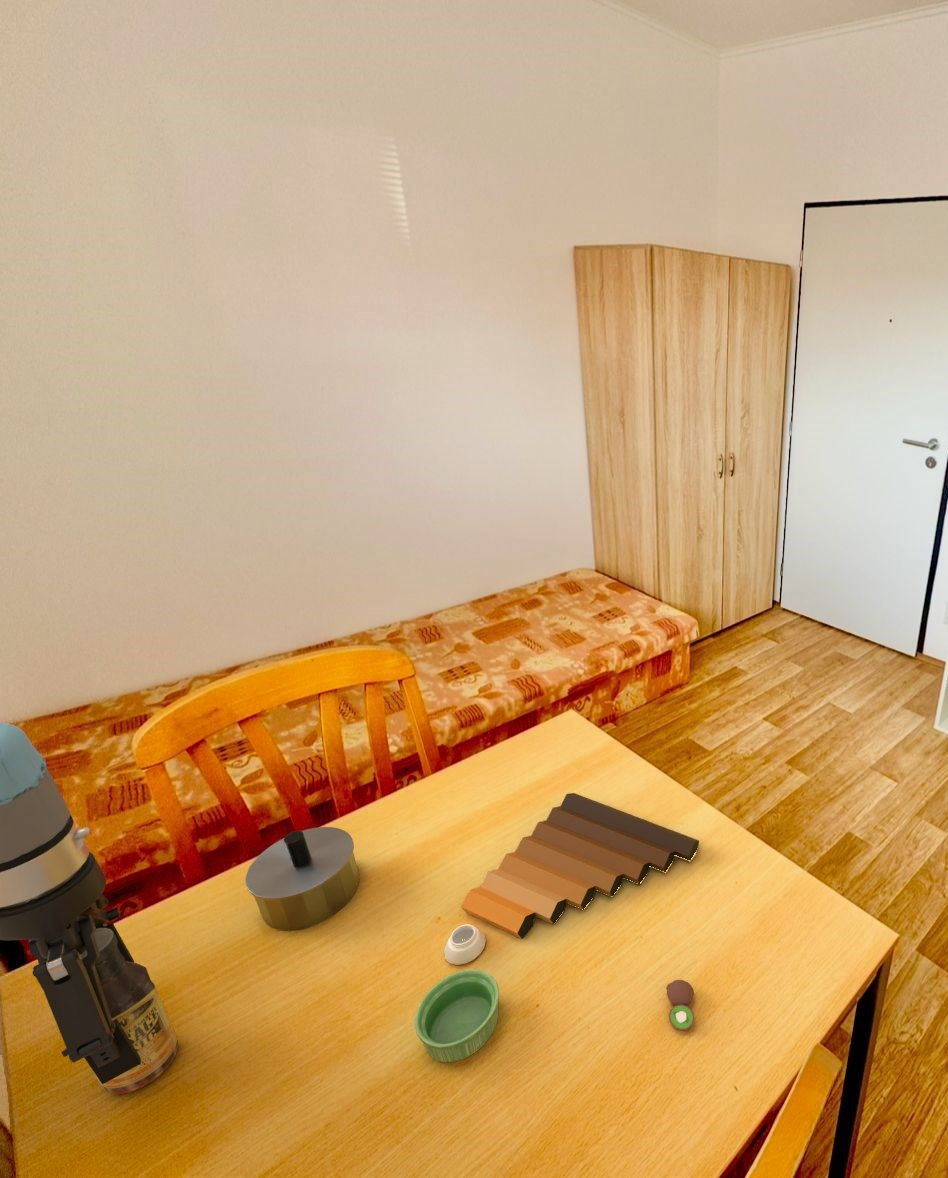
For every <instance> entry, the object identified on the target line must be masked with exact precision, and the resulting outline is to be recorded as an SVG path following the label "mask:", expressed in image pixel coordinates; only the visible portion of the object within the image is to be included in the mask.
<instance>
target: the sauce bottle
mask: <svg viewBox="0 0 948 1178" xmlns="http://www.w3.org/2000/svg"><path fill="white" fill-rule="evenodd" d="M94 937H95V940H96V943H97V947H98V950H99V953H100V957H99V959H98V960H97V961H96V962H95V967H96V970H97V974H98V977H99V980H100V983H101V986H102V989H103V993H104V996H105V999H106V1002H107V1005H108V1009H109V1012H110V1015H111V1018H112V1021H113V1020H115V1019H117V1020H118V1022H119V1023H120V1025H121V1027H122V1028H123V1030H124V1031H125V1033H126V1035H127V1036H128V1038H129V1040H130V1041H131V1043H132V1044H133V1046H134V1048H135V1049H136V1051H137V1053H138V1054H139V1056H140V1058H141V1064H140V1065H138V1066H136V1067H134V1068H132V1069H130V1070H129V1071H127V1072H125V1073H123V1074H121V1075H119V1076H117V1077H116V1078H114V1079H112V1080H110V1081H108V1082H106V1083H105V1084H103V1085H102V1083H101V1082H100V1080H99V1079H98V1077H97V1076H96V1074H95V1073H94V1071H93V1070H92V1068H91V1067H90V1069H91V1071H92V1072H93V1074H94V1076H95V1078H96V1081H97V1082H98V1084H99V1085H100V1086H102V1088H103V1089H104V1090H105V1091H106V1092H107V1093H109V1094H112V1095H118V1096H119V1095H126V1094H128V1093H132V1092H135V1091H138V1090H140V1089H142V1088H144V1087H146V1086H147V1085H150V1084H151V1083H152V1082H153V1081H155V1080H156V1079H158V1077H160V1076H161V1075H162V1074H163V1073H164V1072H165V1071H166V1070H167V1068H169V1067H170V1066H171V1064H172V1063H173V1062H174V1060H175V1058H176V1054H177V1052H178V1047H179V1043H178V1035H177V1034H176V1031H175V1029H174V1026H173V1024H172V1022H171V1020H170V1017H169V1015H168V1012H167V1010H166V1008H165V1006H164V1003H163V1001H162V999H161V996H160V994H159V992H158V989H157V987H156V985H155V983H154V982H153V981H152V980H151V976H150V974H149V972H148V969H147V967H146V966H144V965H141V964H140V963H137V962H135V961H134V962H129V961H125V959H124V957H123V956H122V955H121V954H120V951H119V949H118V947H117V942H118V940H117V937H116V935H115V934H114V932H113V931H112V930H111V929H108V928H97V929H96V930H95V932H94ZM79 955H81V957H82V959H83V958H85V957H86V956H87V950H85V951H84V952H83V953H81V954H79Z"/></svg>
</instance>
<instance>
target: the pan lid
mask: <svg viewBox="0 0 948 1178" xmlns="http://www.w3.org/2000/svg"><path fill="white" fill-rule="evenodd" d="M354 850H355V843H354V839H353V837H352V836H351V835H350V833H349V832H347V831H346V830H344V829H342V828H339V827H334V826H319V827H311V828H307V829H304V830H294V831H291V832H289V833H288V834H286V835H285V836H284V838H282V839H279V840H278V841H276V842H275V843H273V844H272V845H270V846H269V847H267V848H266V849H265V850H264V851H262V852H261V853H260V854H259V855H258V856H257V857H256V858H255V859H254V860H253V862H252V863H251V864H250V866H249V867H248V869H247V872H246V875H245V878H244V879H245V880H244V882H245V887H246V889H247V892H248V893H249V894H250V895H252V896H253V897H254V896H255V897H257V898H259V899H263V900H284V899H290V898H294V897H297V896H300V895H303V894H306V893H308V892H311V891H313V890H315V889H317V888H319V887H320V886H322V885H324V884H325V883H327V882H328V881H330V880H331V879H333V878H334V877H335V876H336V875H337V874H338V873H339V872H341V871H342V870H343V868H344V867H345V866H346V865H347V863H348V862H349V860H350V859H351V857H352V854H353V853H354ZM255 897H254V898H255Z"/></svg>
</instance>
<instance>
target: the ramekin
mask: <svg viewBox="0 0 948 1178" xmlns="http://www.w3.org/2000/svg"><path fill="white" fill-rule="evenodd" d="M499 1001H500V989H499V984H498V983H497V981H496V979H495V978H494V976H493V975H491V973H490V972H487V971H485V970H482V969H477V968H475V969H474V968H470V969H463V970H462V969H461V970H459V971H456V972H453V973H451V974H449V975H447V976H445V977H444V978H442V979H440V980H439V981H438V982H437V983H436V984H435V985H433V986H432V988H430V989H429V990H428V992H427V993H425V995H424V997H423V998H422V999H421V1001H420V1003H419V1004H418V1007H417V1010H416V1013H415V1017H414V1029H415V1032H416V1035H417V1036H418V1039H419V1040H420V1041H421V1042H422V1043H423V1046H424V1048H425V1049H426V1052H427V1054H428V1055H429V1056H430V1057H432V1058H433V1059H434V1060H436V1061H437V1062H442V1063H453V1062H458V1061H461V1060H464V1059H467V1058H469V1057H471V1056H472V1055H474V1054H475V1053H476V1052H478V1051H479V1050H480V1049H481V1048H482V1047H483V1046H484V1045H485V1044H486V1043H487V1042H488V1041H489V1039H490V1038H491V1036H492V1035H493V1033H494V1031H495V1029H496V1027H497V1023H498V1019H499Z"/></svg>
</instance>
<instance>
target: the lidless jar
mask: <svg viewBox="0 0 948 1178" xmlns="http://www.w3.org/2000/svg"><path fill="white" fill-rule="evenodd" d="M462 939H463V941H462ZM464 939H465V940H464ZM486 941H487V940H486V935H485V932H483V931H482V930H481V929H480V928H478V927H476V926H474V925H472V924H468V923H465V924H462V925H459V926H458V927H456V928H455V929H454V930H453V931H452V932H451V933H450V936H449V937H448V940H447V941H446V943H445V945H444V949H443V953H444V954H443V955H444V958H445V961H447V962H448V963H449V964H451V965H456V966H459V965H465V964H468V963H470V962H472V961H474V960H475V959H476V958H477V957H478V956H480V955H481V953H482V952H483V951H484V949H485V947H486V943H487V942H486Z"/></svg>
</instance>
